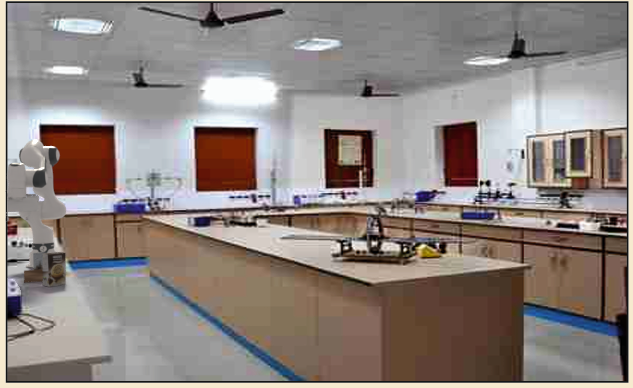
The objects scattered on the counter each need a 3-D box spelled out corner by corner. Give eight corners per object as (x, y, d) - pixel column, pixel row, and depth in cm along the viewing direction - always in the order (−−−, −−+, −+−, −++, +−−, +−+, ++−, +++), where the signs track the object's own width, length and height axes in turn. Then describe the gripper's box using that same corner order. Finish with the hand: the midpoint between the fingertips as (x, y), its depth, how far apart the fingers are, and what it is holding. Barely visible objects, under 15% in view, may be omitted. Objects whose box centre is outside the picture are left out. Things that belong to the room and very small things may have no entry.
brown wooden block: (24, 279, 317) (24, 267, 317) (53, 277, 323) (53, 266, 323) (24, 282, 307) (23, 270, 307) (54, 280, 313) (53, 269, 313)
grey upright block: (33, 273, 317) (33, 252, 317) (45, 272, 319) (44, 252, 319) (33, 275, 312) (32, 254, 311) (44, 274, 314) (44, 253, 314)
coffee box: (49, 287, 296) (48, 254, 295) (42, 285, 299) (41, 253, 299) (66, 284, 303) (66, 252, 302) (59, 282, 307) (59, 251, 306)
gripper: (39, 193, 321) (39, 219, 321) (-5, 194, 312) (-4, 220, 313) (38, 193, 315) (39, 220, 315) (-6, 194, 307) (-5, 221, 307)
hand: (17, 220), depth 314 cm, fingers open, 8 cm apart
